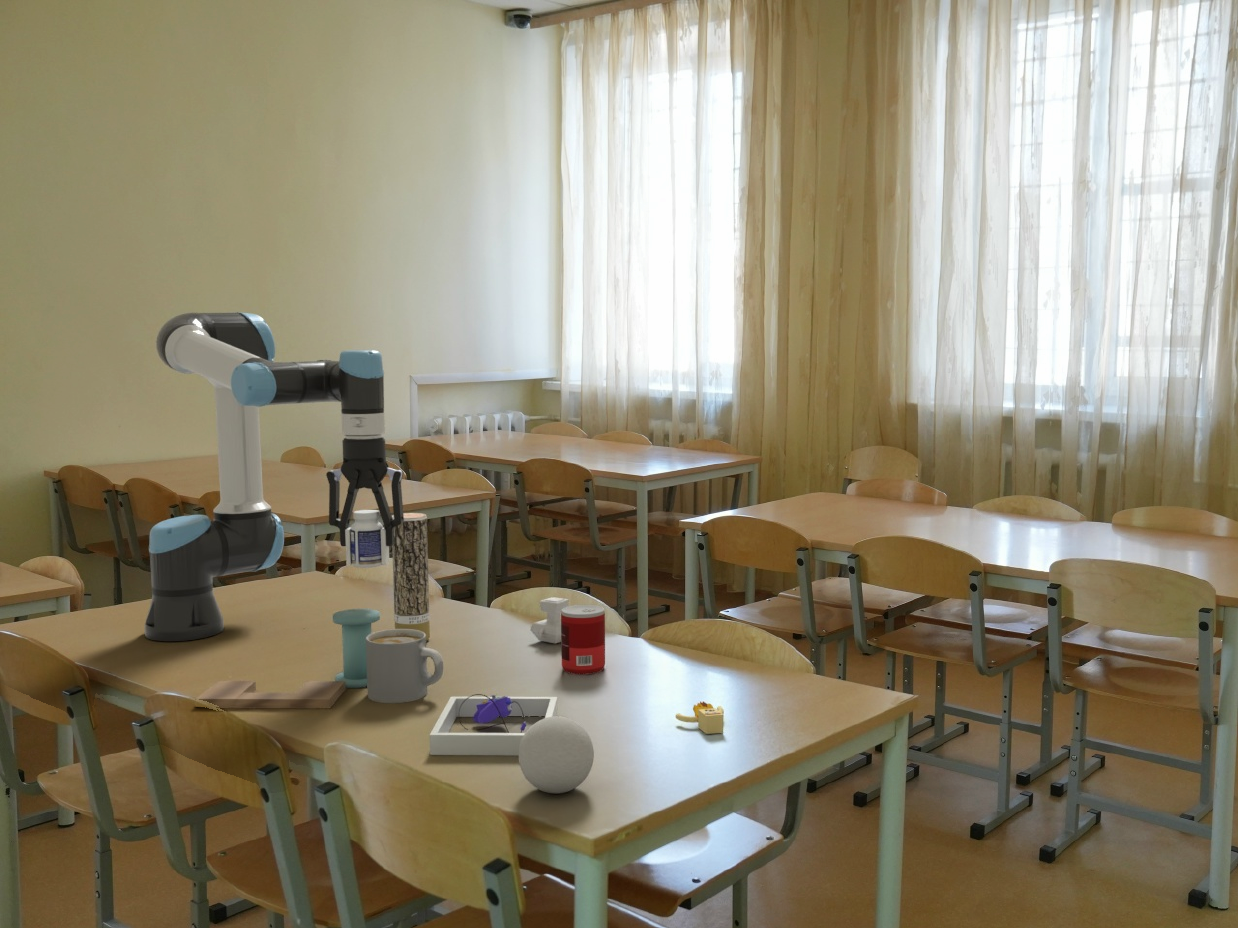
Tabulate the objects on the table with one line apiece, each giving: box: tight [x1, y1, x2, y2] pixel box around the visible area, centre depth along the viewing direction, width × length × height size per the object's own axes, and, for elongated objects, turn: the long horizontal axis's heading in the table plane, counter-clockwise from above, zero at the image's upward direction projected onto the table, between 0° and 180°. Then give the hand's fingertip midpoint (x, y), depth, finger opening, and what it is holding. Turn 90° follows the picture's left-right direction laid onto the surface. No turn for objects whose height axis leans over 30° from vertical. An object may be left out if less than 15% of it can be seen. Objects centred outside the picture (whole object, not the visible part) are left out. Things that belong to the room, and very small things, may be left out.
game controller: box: [458, 693, 528, 733], centre depth 183 cm, size 10×8×10 cm
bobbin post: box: [332, 608, 381, 689], centre depth 209 cm, size 8×8×12 cm
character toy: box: [675, 701, 725, 735], centre depth 185 cm, size 8×3×8 cm
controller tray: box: [429, 696, 559, 756], centre depth 182 cm, size 17×18×3 cm
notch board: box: [195, 680, 346, 709], centre depth 200 cm, size 22×10×2 cm, turn 88°
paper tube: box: [391, 512, 431, 642], centre depth 235 cm, size 7×7×25 cm
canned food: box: [560, 604, 606, 675], centre depth 216 cm, size 8×8×11 cm
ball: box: [518, 715, 595, 795], centre depth 159 cm, size 10×10×10 cm
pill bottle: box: [350, 509, 384, 569], centre depth 217 cm, size 6×6×10 cm
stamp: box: [530, 596, 570, 644], centre depth 235 cm, size 9×7×8 cm
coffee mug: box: [366, 628, 444, 704], centre depth 201 cm, size 13×10×10 cm
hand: (367, 563), depth 217 cm, fingers closed on pill bottle, 6 cm apart
